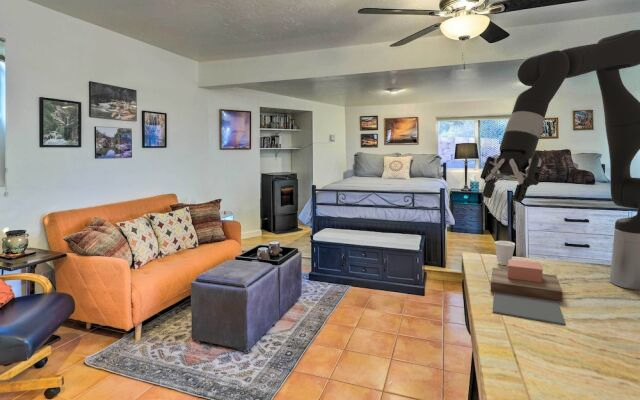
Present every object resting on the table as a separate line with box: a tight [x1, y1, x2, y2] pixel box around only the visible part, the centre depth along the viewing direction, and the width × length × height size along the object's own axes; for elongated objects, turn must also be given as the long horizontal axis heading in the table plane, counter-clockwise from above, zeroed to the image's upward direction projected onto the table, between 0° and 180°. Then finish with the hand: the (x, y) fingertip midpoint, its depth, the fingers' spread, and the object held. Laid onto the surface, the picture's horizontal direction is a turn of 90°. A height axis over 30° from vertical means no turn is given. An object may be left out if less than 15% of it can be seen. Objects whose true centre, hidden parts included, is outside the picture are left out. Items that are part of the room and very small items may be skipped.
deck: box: [490, 267, 563, 303], centre depth 109 cm, size 14×18×3 cm
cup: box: [494, 240, 516, 267], centre depth 132 cm, size 7×10×8 cm
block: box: [507, 259, 544, 282], centre depth 110 cm, size 7×9×4 cm
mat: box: [492, 292, 566, 326], centre depth 96 cm, size 14×16×1 cm
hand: (500, 199), depth 84 cm, fingers open, 8 cm apart
